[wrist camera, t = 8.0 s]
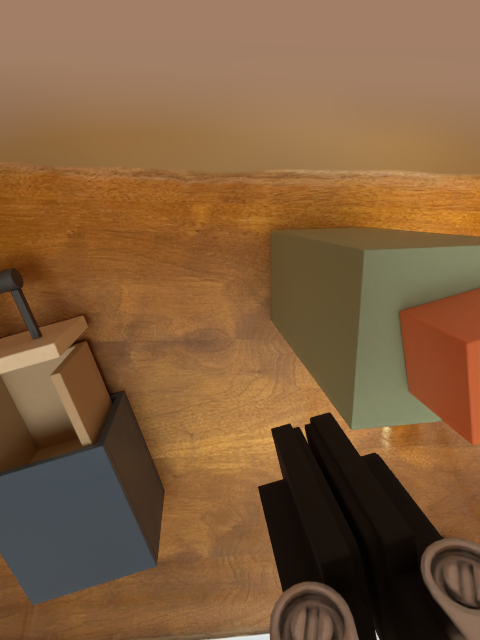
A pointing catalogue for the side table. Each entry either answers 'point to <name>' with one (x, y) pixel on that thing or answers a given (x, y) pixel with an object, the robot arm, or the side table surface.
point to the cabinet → (83, 512)
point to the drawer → (47, 387)
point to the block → (446, 359)
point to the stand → (363, 309)
